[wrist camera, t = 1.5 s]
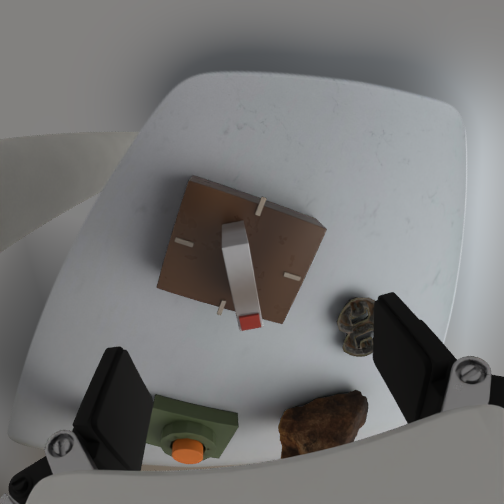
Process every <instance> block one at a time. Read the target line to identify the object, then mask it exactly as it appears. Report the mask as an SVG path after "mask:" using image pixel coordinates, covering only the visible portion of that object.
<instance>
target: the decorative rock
mask: <svg viewBox="0 0 504 504" xmlns="http://www.w3.org/2000/svg"><path fill="white" fill-rule="evenodd" d="M367 412H368V402H367V398H366V397H365V396H362V394H361V392H360V391H358V390H354V391H350V392H349V393H346V394H336V395H333V396H329V397H323V398H317V399H315V400H313V401H312V402H310V403H308V404H305V405H304V406H302V407H295V408H291V409H287V410H286V411H285V412H284V414H283V416H282V418H281V420H280V423H279V426H278V429H279V433H280V441H281V444H282V452H281V459H284V458H289V457H294V456H299V455H304V454H308V453H313V452H317V451H321V450H325V449H329V448H333V447H337V446H341V445H344V444H348V443H351V442H354V439H355V437H356V436H357V433H358V430H359V428H361V427H362V426H363V425H364V423H365V422H366V417H367Z"/></svg>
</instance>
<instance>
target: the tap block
mask: <svg viewBox="0 0 504 504" xmlns="http://www.w3.org/2000/svg"><path fill="white" fill-rule="evenodd" d="M266 199H267V198H265V197H261V198H258V197H256V196H253V195H250V194H247V193H244V192H241V191H238V190H236V189H233V188H230V187H227V186H224V185H221V184H218V183H215V182H212V181H209V180H206V179H203V178H200V177H197V176H194V175H193V176H192V177H191V178H190V180H189V181H188V184H187V187H186V190H185V193H184V196H183V199H182V202H181V205H180V208H179V211H178V215H177V218H176V221H175V224H174V228H173V231H172V234H171V238H170V241H169V244H168V248H167V251H166V255H165V258H164V262H163V265H162V269H161V273H160V276H159V280H158V284H157V288H159V289H162V290H165V291H168V292H171V293H174V294H178V295H181V296H184V297H187V298H191V299H194V300H197V301H201V302H204V303H207V304H211V305H214V306H218V307H219V309H218V311H217V314H218V315H221V314H222V311H223V309H224V308H225V309H228V310H232V311H235V307H234V303H233V299H232V294H231V289H230V285H229V280H228V276H227V271H226V266H225V262H224V257H223V252H222V224H227V223H232V222H238V221H244V225H245V229H246V234H247V238H248V242H249V248H250V253H251V259H252V265H253V270H254V276H255V282H256V287H257V293H258V298H259V304H260V310H261V315H262V319H265V320H268V321H272V322H276V323H280V324H283V322H284V320H285V318H286V316H287V314H288V312H289V310H290V307H291V305H292V303H293V301H294V299H295V297H296V295H297V293H298V291H299V289H300V287H301V285H302V282H303V280H304V278H305V276H306V274H307V272H308V270H309V268H310V265H311V263H312V261H313V259H314V257H315V255H316V252H317V250H318V248H319V246H320V243H321V241H322V239H323V237H324V235H325V232H326V230H327V229H326V228H325V227H324V226H323V225H322V224H321V223H320V222H319V221H318V220H317V219H315V218H312V217H310V216H307V215H305V214H302V213H299V212H297V211H294V210H291V209H289V208H286V207H283V206H280V205H278V204H275V203H272V202H269V201H267V200H266Z"/></svg>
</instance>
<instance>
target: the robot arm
mask: <svg viewBox="0 0 504 504" xmlns="http://www.w3.org/2000/svg"><path fill="white" fill-rule="evenodd" d="M373 360H374V363H375V365H376V367H377V369H378V371H379V372H380V374H381V376H382V378H383V379H384V381H385V383H386V385H387V386H388V388H389V390H390V392H391V394H392V395H393V397H394V399H395V401H396V403H397V404H398V406H399V408H400V410H401V412H402V414H403V415H404V417H405V419H406V421H407V423H408V424H406V425H404V426H401V427H398V428H395V429H392V430H389V431H386V432H383V433H380V434H377V435H374V436H371V437H368V438H365V439H361V440H358V441H355V442H351V443H348V444H344V445H341V446H337V447H333V448H329V449H325V450H321V451H317V452H313V453H308V454H304V455H299V456H294V457H289V458H284V459H278V460H273V461H267V462H261V463H254V464H247V465H239V466H231V467H221V468H210V469H197V470H180V471H179V470H177V471H141V466H142V460H143V455H144V449H145V444H146V439H147V434H148V429H149V424H150V419H151V414H152V409H153V399H152V397H151V395H150V393H149V391H148V390H147V388H146V386H145V384H144V382H143V380H142V379H141V377H140V375H139V373H138V371H137V369H136V367H135V365H134V363H133V361H132V359H131V357H130V355H129V353H128V352H127V350H123V348H122V347H112V348H107V349H106V350H105V352H104V354H103V356H102V358H101V360H100V363H99V365H98V367H97V369H96V371H95V374H94V376H93V378H92V380H91V382H90V385H89V387H88V389H87V391H86V394H85V396H84V398H83V401H82V403H81V405H80V408H79V410H78V413H77V415H76V417H75V420H74V422H73V426H74V428H73V431H70V430H60V431H58V432H56V433H54V434H53V435H51V436H50V438H49V439H48V440H47V442H46V444H45V454H46V456H45V457H44V458H42V459H40V460H39V461H37V462H35V463H34V464H32V465H30V466H29V467H27V468H26V469H24V470H22V471H21V472H19V473H17V474H16V475H15V476H14V477H13V478H12V479H11V481H10V483H9V495H7V494H6V493H5V494H4V495H3V496H2V497H1V498H0V504H504V377H502V376H496V375H491V368H490V367H489V365H488V364H487V363H486V362H485V361H484V360H482V359H480V358H478V357H474V356H467V357H462V358H460V359H458V360H457V359H456V358H455V357H454V356H453V355H452V354H451V352H450V351H449V350H448V349H447V348H446V346H445V345H444V344H443V343H442V342H441V341H440V340H439V338H438V337H437V336H436V335H435V334H434V333H433V332H432V331H431V329H430V328H429V327H428V326H427V325H426V324H425V323H424V322H423V321H422V320H419V319H418V318H417V317H416V316H415V315H414V313H413V312H412V311H411V310H410V309H409V308H408V307H407V306H406V305H405V304H404V303H403V301H402V300H401V299H400V298H399V297H398V296H397V295H396V294H395V293H394V292H391V293H388V294H384V295H380V296H379V297H378V300H377V301H375V302H374V336H373Z"/></svg>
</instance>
